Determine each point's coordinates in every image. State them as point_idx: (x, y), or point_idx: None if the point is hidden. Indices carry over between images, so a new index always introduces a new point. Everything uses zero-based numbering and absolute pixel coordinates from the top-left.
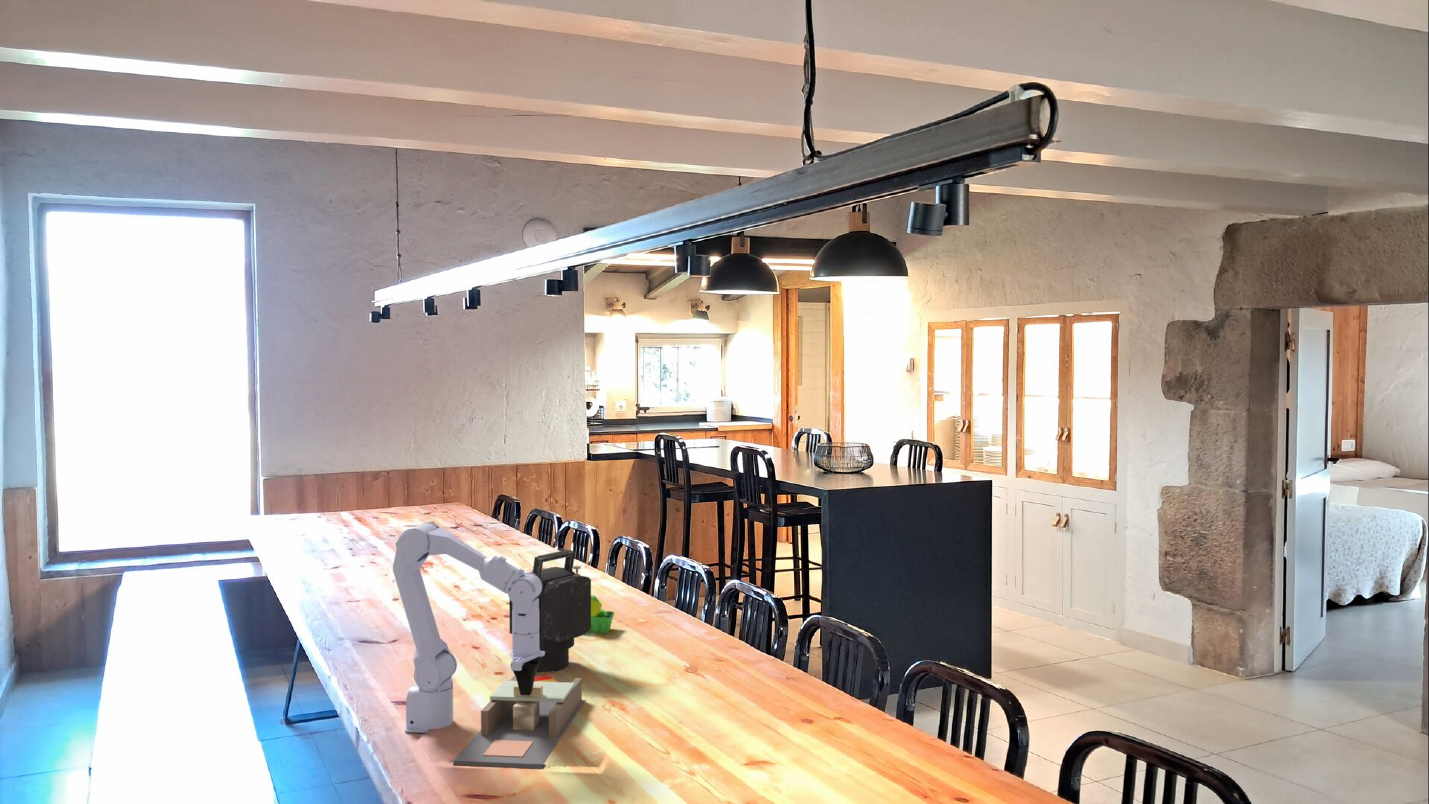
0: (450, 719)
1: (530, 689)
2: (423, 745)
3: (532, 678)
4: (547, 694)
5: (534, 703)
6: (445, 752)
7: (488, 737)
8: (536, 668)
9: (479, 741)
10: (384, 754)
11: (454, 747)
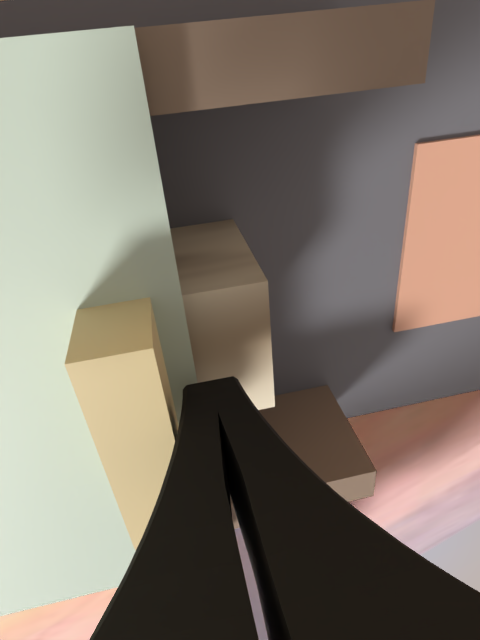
0: (242, 551)
1: (252, 405)
2: (379, 504)
3: (294, 485)
4: (54, 270)
5: (187, 309)
6: (439, 431)
7: (353, 371)
8: (238, 609)
9: (399, 380)
10: (442, 537)
11: (396, 431)
